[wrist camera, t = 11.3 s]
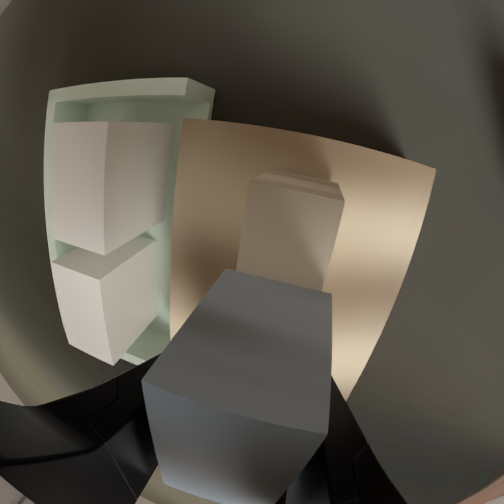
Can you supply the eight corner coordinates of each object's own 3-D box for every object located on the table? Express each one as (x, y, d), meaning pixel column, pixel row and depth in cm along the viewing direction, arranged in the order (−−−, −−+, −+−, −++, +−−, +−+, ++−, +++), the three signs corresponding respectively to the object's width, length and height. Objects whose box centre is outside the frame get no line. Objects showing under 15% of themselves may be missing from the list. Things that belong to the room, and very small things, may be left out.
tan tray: (340, 362, 18) (341, 408, 14) (195, 327, 19) (170, 365, 16) (407, 161, 13) (436, 169, 9) (215, 122, 14) (182, 117, 11)
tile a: (113, 365, 14) (69, 343, 15) (157, 315, 19) (116, 301, 20) (99, 279, 12) (51, 261, 12) (156, 240, 17) (111, 229, 17)
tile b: (104, 255, 11) (53, 238, 12) (164, 220, 16) (116, 210, 17) (108, 121, 9) (52, 122, 10) (173, 123, 14) (122, 121, 15)
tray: (190, 345, 20) (170, 378, 17) (90, 308, 21) (64, 330, 18) (215, 89, 14) (187, 77, 10) (87, 92, 15) (49, 90, 12)
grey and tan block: (288, 384, 14) (252, 528, 7) (231, 369, 14) (170, 503, 7) (345, 184, 10) (400, 295, 3) (264, 167, 10) (129, 230, 3)
